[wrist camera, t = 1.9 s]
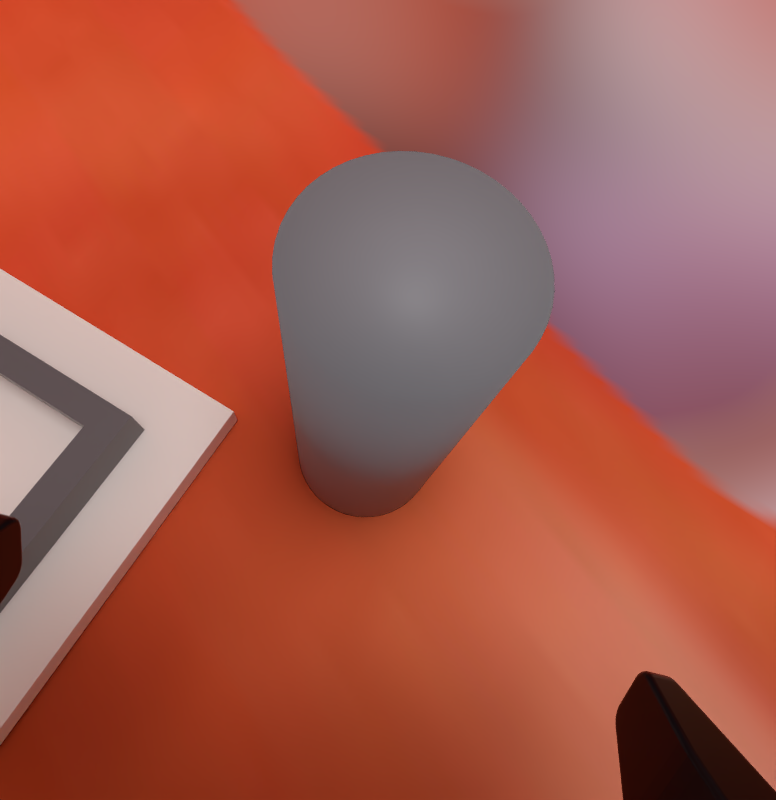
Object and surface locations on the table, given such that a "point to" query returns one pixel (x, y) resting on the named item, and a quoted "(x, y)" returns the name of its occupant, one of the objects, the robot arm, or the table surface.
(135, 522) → the seat board
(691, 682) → the table surface
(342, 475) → the slate post
